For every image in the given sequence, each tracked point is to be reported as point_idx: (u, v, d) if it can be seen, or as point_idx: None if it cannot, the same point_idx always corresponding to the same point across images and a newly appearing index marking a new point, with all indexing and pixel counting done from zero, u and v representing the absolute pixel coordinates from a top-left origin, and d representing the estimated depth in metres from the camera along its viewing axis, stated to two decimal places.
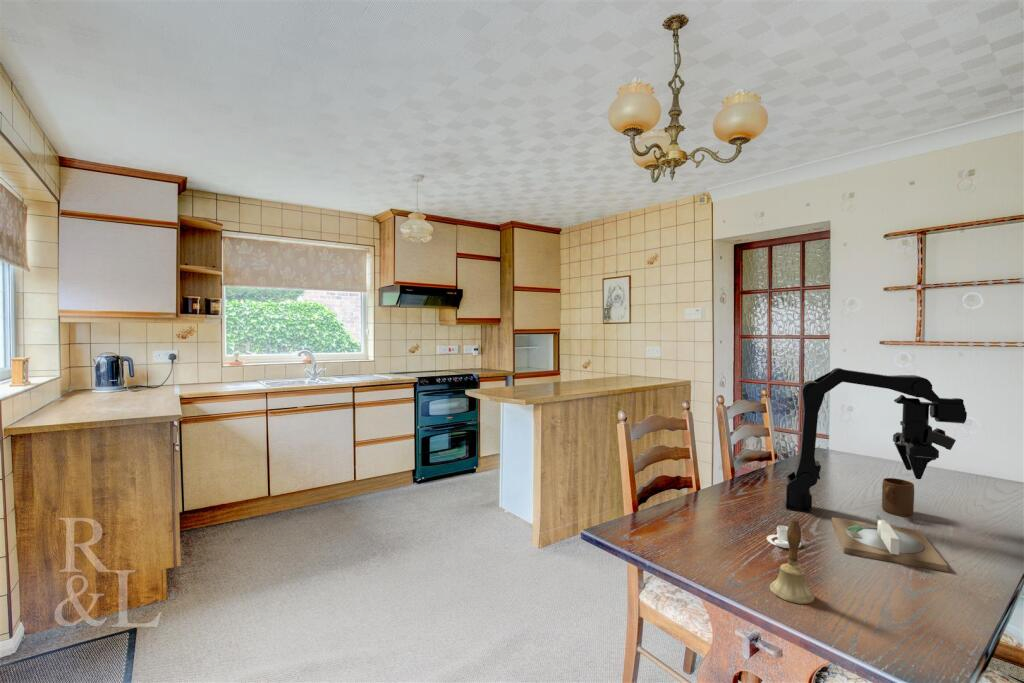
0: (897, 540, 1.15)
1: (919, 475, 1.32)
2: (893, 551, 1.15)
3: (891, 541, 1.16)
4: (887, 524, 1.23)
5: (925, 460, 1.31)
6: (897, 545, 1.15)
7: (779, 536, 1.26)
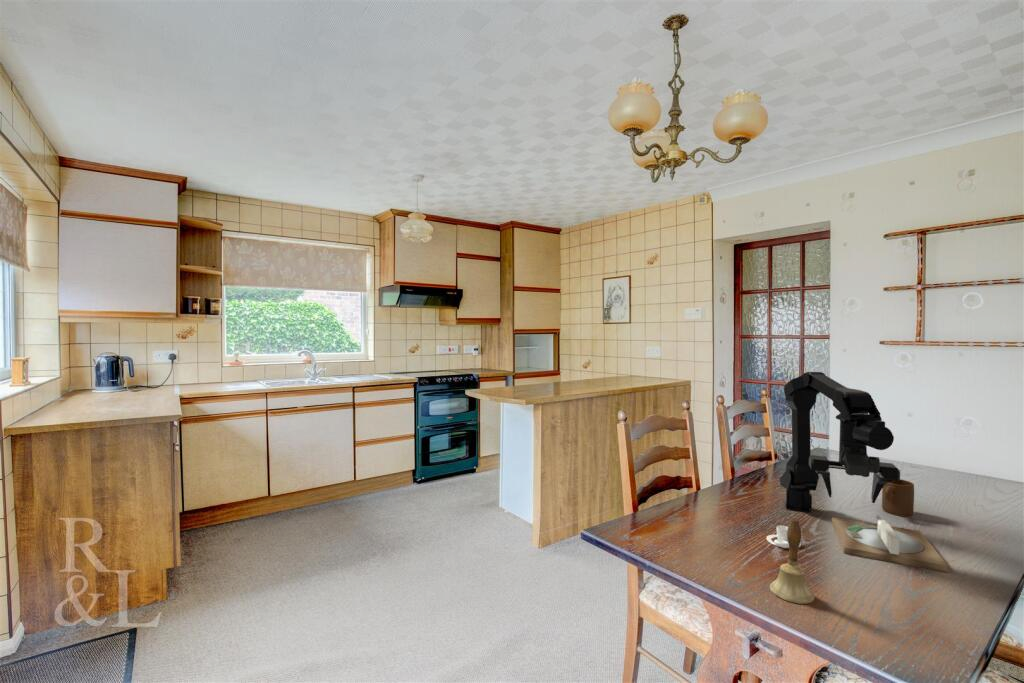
0: (897, 540, 1.15)
1: (828, 492, 1.26)
2: (893, 551, 1.15)
3: (891, 541, 1.16)
4: (887, 524, 1.23)
5: None
6: (897, 545, 1.15)
7: (779, 536, 1.26)
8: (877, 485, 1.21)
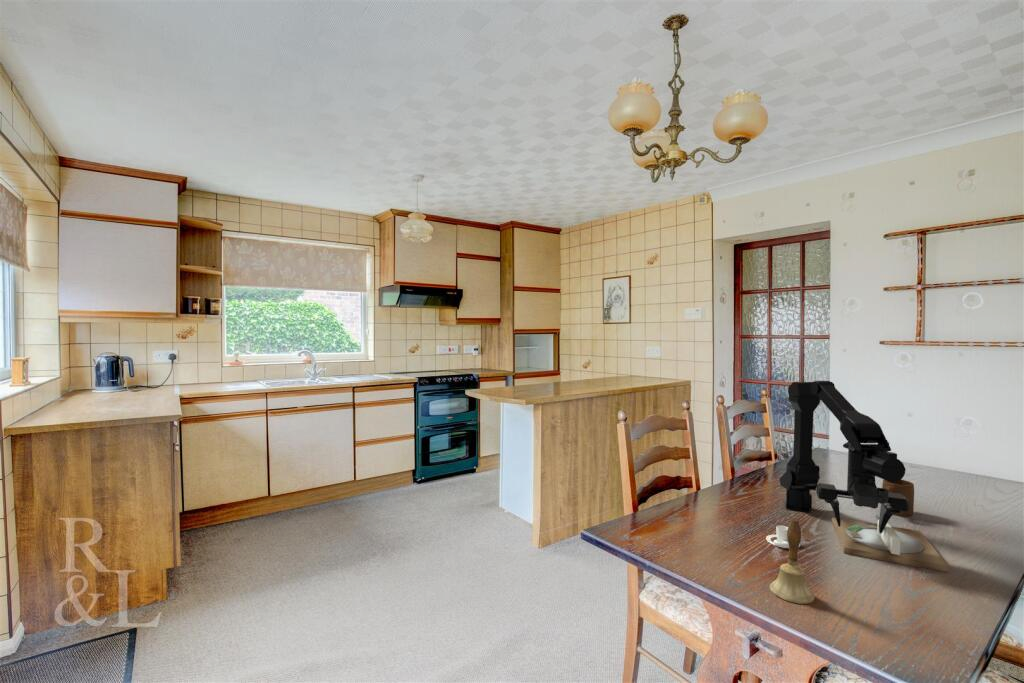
0: (898, 540, 1.15)
1: (837, 521, 1.26)
2: (894, 551, 1.15)
3: (892, 541, 1.15)
4: (887, 524, 1.23)
5: None
6: (898, 545, 1.15)
7: (778, 536, 1.26)
8: (884, 515, 1.20)
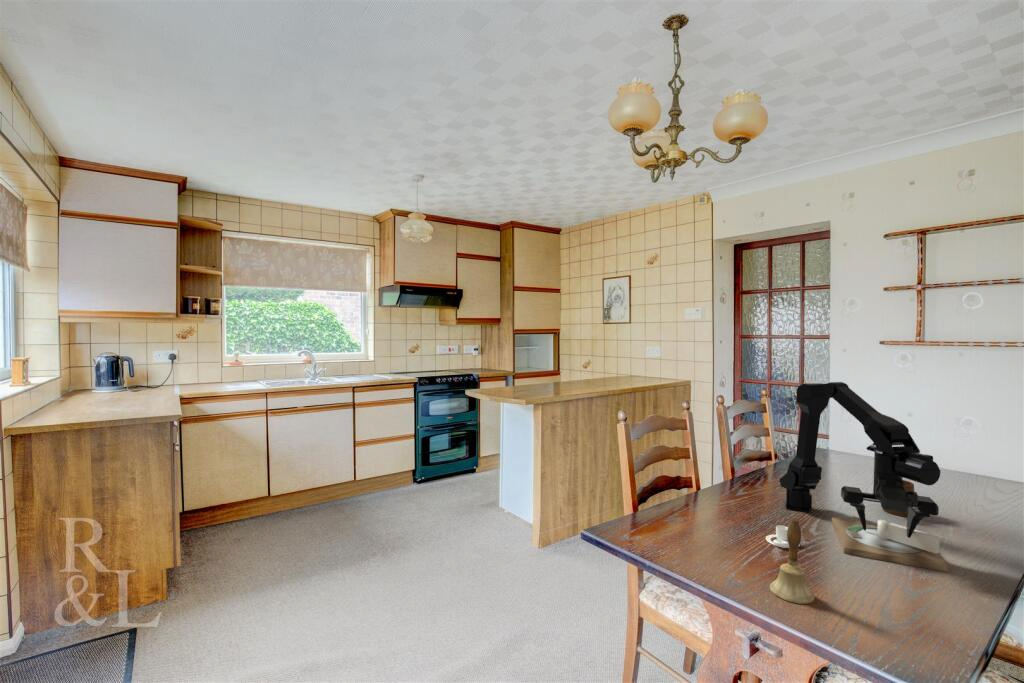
0: (939, 538, 1.16)
1: (862, 525, 1.23)
2: (937, 550, 1.16)
3: (936, 541, 1.16)
4: (892, 523, 1.24)
5: None
6: (938, 543, 1.16)
7: (778, 536, 1.26)
8: (913, 519, 1.17)
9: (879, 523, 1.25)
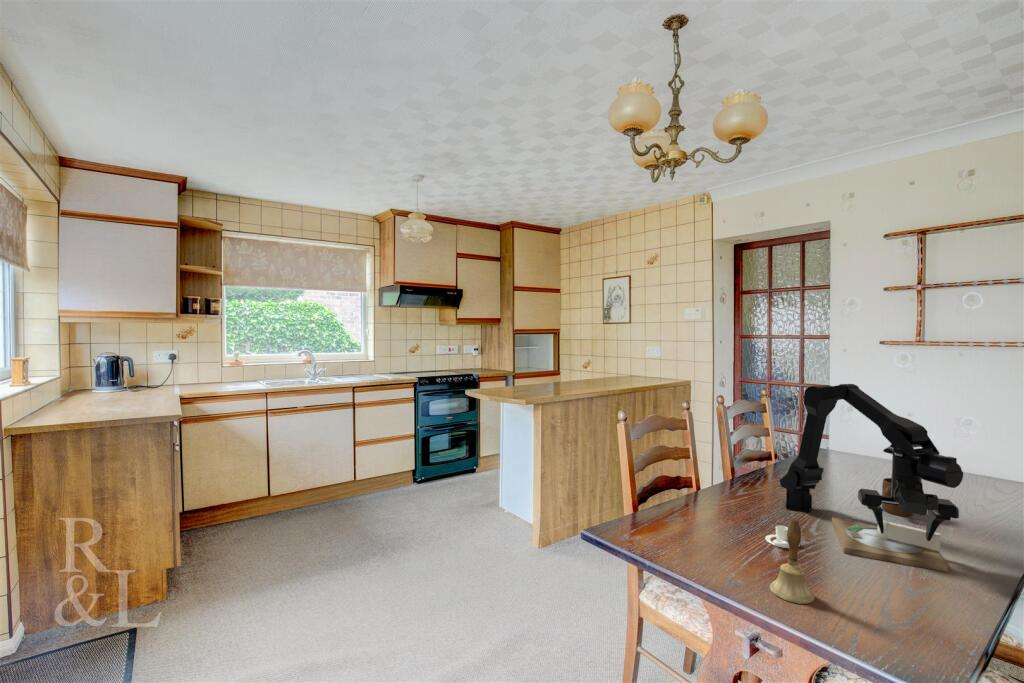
0: (940, 535, 1.18)
1: (879, 528, 1.22)
2: (939, 547, 1.17)
3: (939, 539, 1.17)
4: (892, 523, 1.24)
5: None
6: None
7: (778, 536, 1.26)
8: (933, 523, 1.16)
9: None
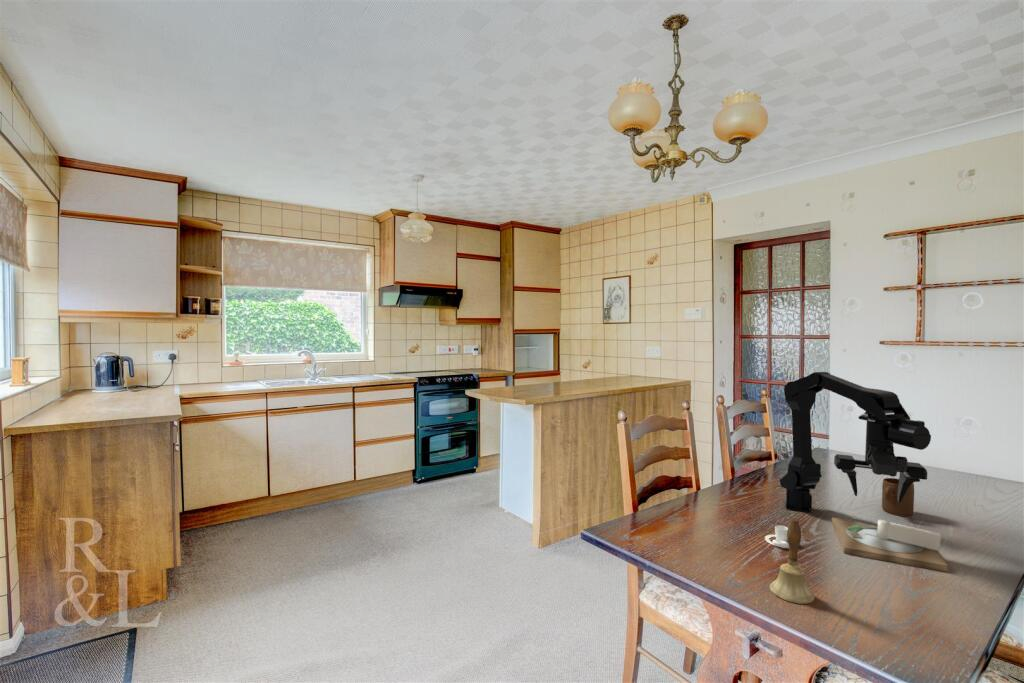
0: (940, 535, 1.18)
1: (853, 491, 1.28)
2: (939, 547, 1.17)
3: (939, 538, 1.17)
4: (892, 523, 1.24)
5: None
6: None
7: (777, 536, 1.26)
8: (904, 484, 1.22)
9: (880, 523, 1.25)
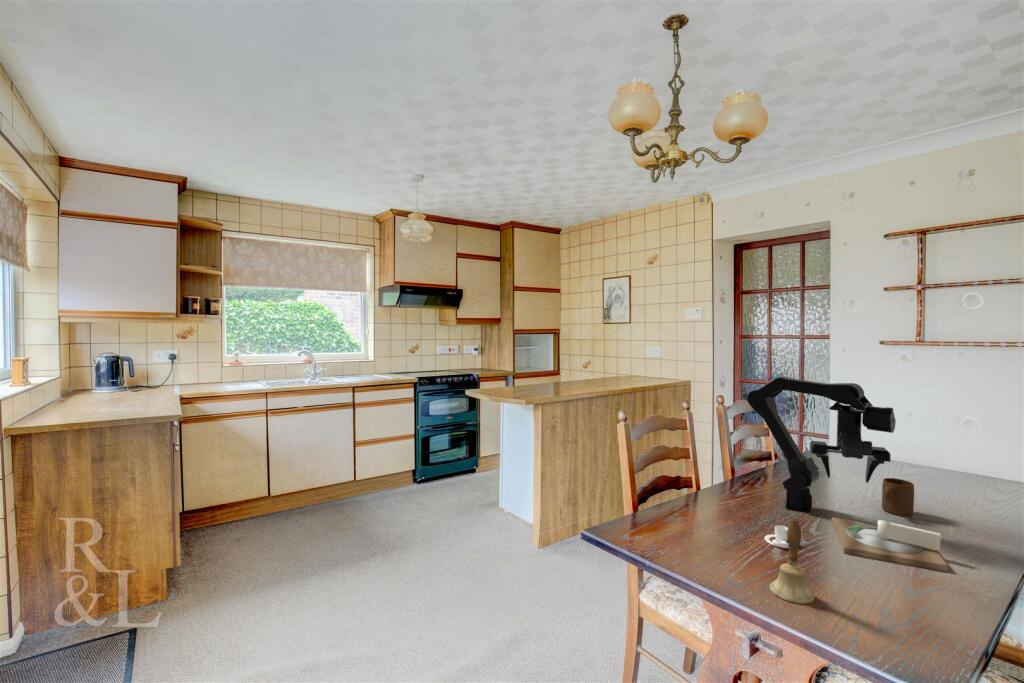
0: (940, 535, 1.18)
1: None
2: (939, 547, 1.17)
3: (939, 538, 1.17)
4: (892, 523, 1.24)
5: None
6: None
7: (777, 536, 1.26)
8: (870, 466, 1.36)
9: (880, 523, 1.25)
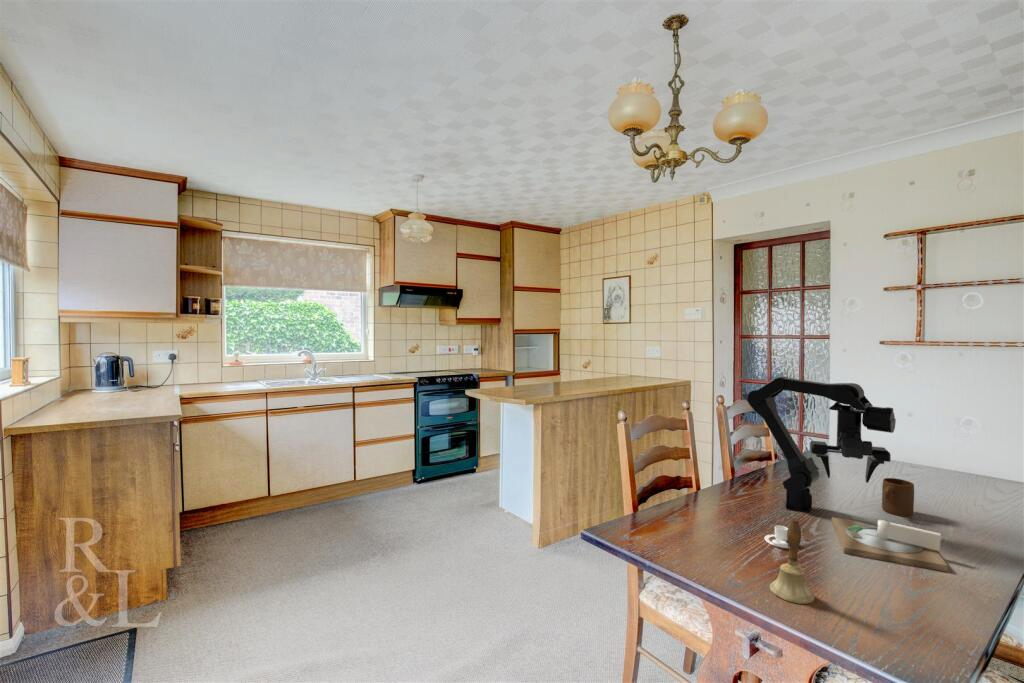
0: (940, 535, 1.18)
1: None
2: (939, 547, 1.17)
3: (939, 538, 1.17)
4: (892, 523, 1.24)
5: None
6: None
7: (777, 536, 1.26)
8: (870, 466, 1.36)
9: (880, 523, 1.25)
